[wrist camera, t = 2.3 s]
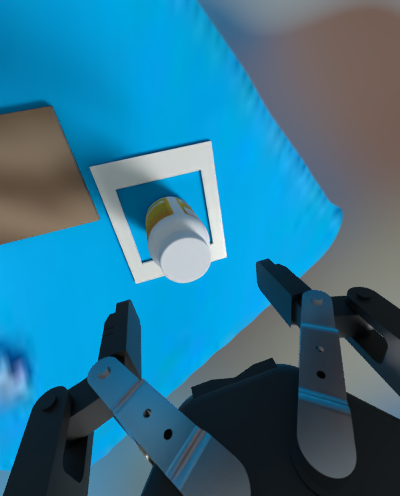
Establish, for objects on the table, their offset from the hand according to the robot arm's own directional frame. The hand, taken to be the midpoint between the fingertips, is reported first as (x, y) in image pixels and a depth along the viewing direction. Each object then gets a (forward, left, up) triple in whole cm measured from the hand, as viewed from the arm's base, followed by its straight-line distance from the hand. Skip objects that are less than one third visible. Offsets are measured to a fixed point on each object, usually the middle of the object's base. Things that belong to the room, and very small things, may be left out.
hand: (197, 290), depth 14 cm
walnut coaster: (-7, -12, -13) cm, 19 cm away
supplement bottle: (0, 0, -13) cm, 13 cm away
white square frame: (0, 0, -13) cm, 13 cm away
